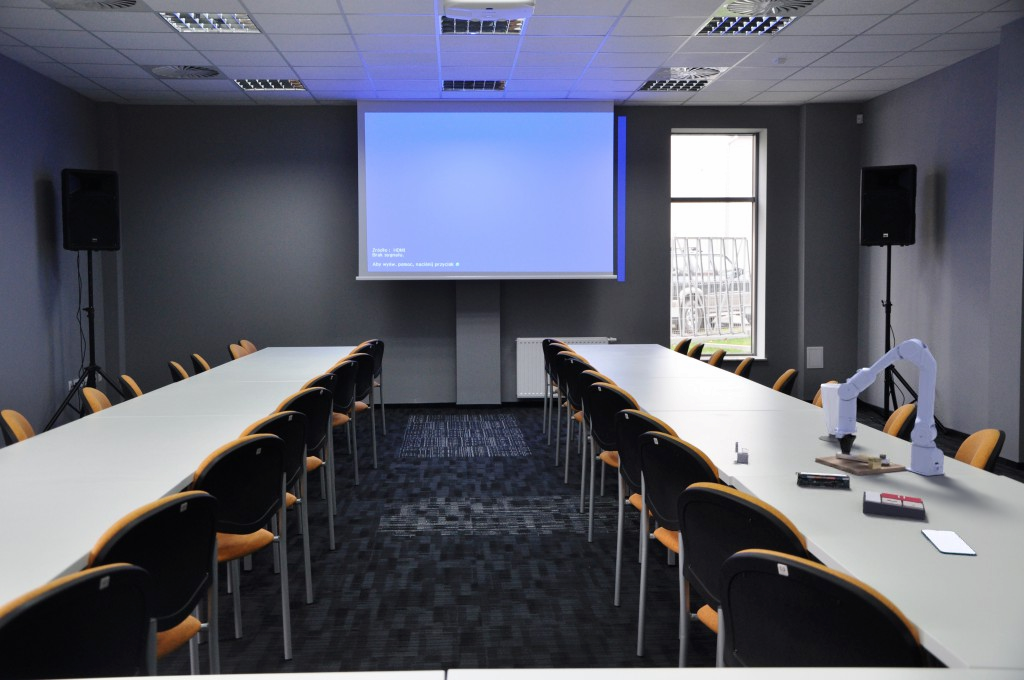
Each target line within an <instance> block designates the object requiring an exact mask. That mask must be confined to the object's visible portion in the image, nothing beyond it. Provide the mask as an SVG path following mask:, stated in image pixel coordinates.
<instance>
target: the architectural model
mask: <svg viewBox="0 0 1024 680" xmlns="http://www.w3.org/2000/svg"><path fill="white" fill-rule="evenodd" d="M741 450H745V451H742V452H739V441H735V450H734V452H735V454H736V453H737V454H736V455H737V456H736V459H737V461H736V462H737V463H746V464H749V453H748V450H746V448H745V447H744V448H742V447H741Z"/></svg>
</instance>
